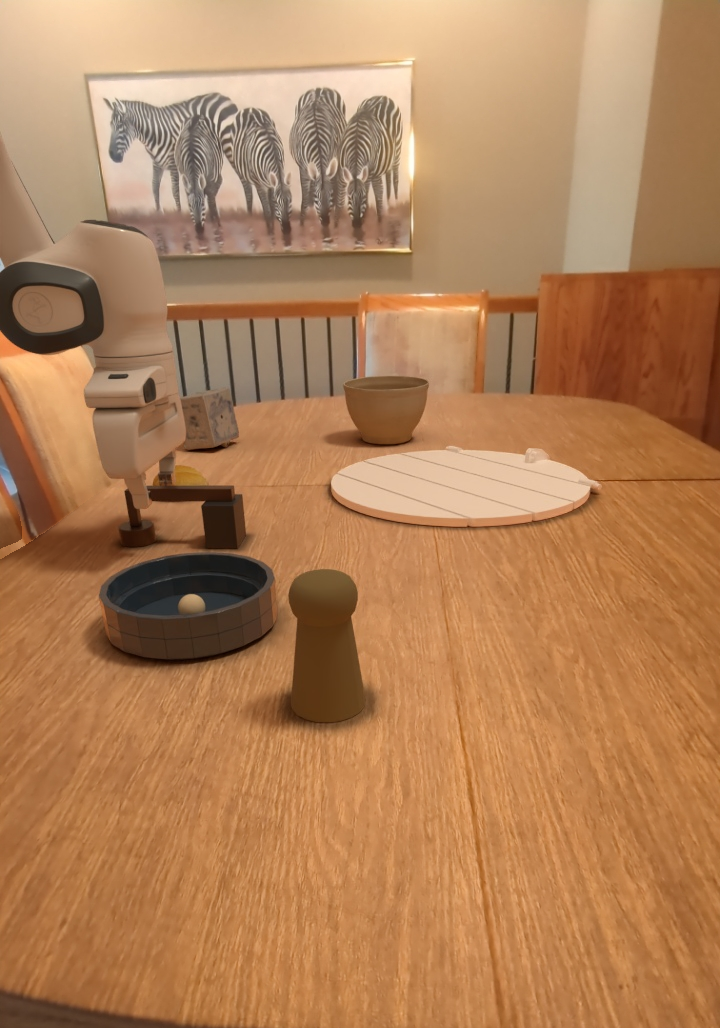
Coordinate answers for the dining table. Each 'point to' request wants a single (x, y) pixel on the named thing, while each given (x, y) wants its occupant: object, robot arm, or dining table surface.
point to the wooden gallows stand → (144, 530)
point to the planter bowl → (386, 406)
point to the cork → (325, 647)
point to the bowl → (168, 635)
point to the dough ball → (191, 605)
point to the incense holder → (209, 419)
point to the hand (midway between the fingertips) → (156, 496)
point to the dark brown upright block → (224, 523)
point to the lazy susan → (462, 487)
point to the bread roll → (186, 477)
